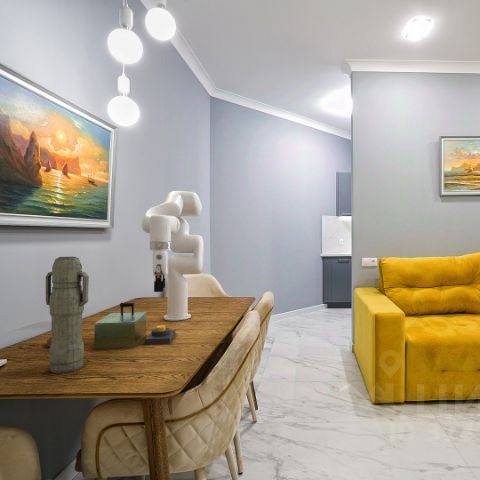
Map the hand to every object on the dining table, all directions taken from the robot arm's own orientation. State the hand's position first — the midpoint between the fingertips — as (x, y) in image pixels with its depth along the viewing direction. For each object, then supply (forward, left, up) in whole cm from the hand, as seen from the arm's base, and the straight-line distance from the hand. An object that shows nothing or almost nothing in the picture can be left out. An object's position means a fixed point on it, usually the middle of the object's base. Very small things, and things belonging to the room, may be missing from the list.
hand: (159, 289), depth 138 cm
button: (-3, 0, -17) cm, 17 cm away
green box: (-2, -14, -21) cm, 25 cm away
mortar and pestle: (-2, -36, -21) cm, 42 cm away
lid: (-2, -14, -12) cm, 18 cm away
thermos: (+23, -22, -21) cm, 38 cm away
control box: (-3, 0, -21) cm, 21 cm away
